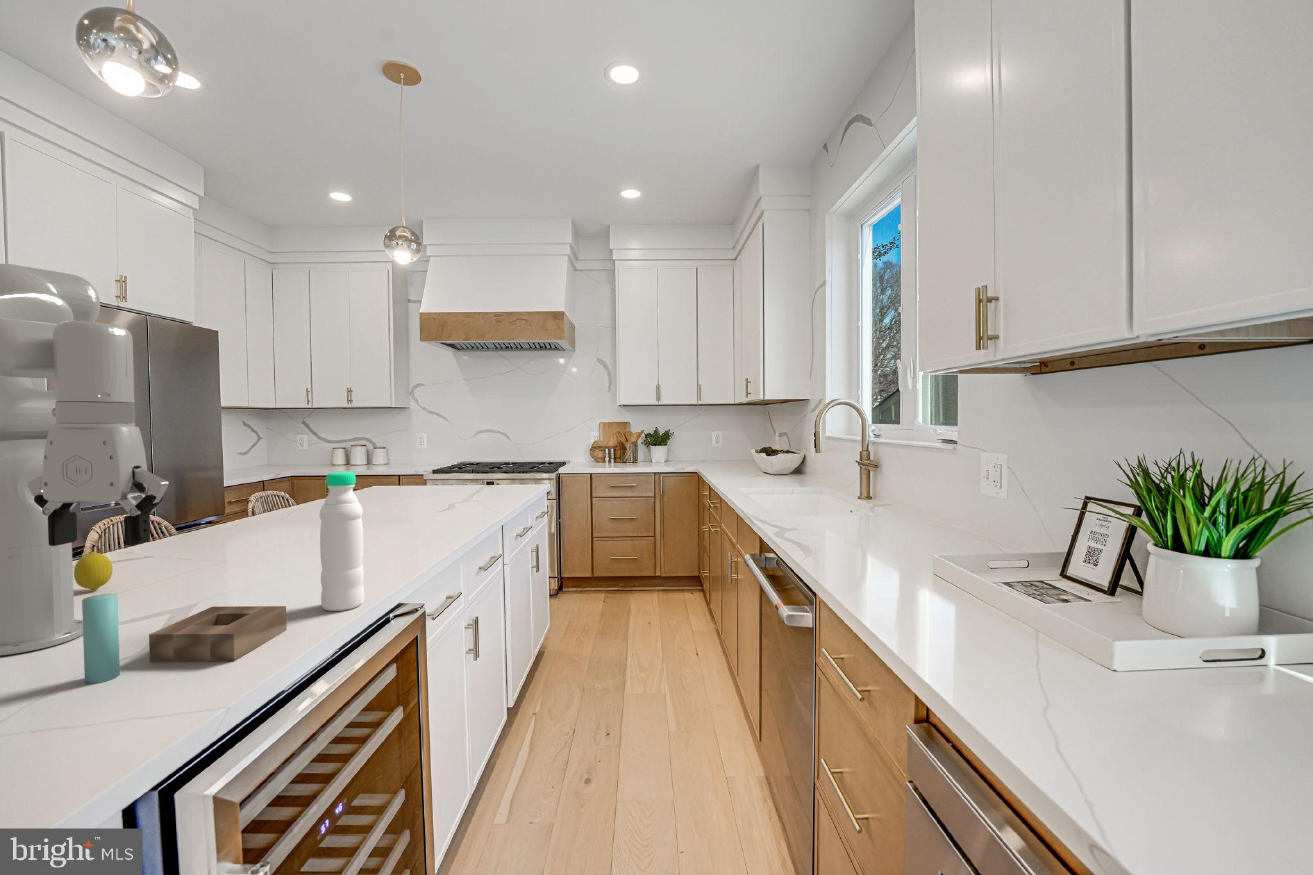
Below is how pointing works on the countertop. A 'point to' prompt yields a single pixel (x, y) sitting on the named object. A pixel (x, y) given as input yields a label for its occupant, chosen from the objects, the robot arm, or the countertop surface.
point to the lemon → (93, 571)
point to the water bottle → (341, 545)
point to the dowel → (100, 638)
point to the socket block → (217, 634)
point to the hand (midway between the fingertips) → (100, 543)
